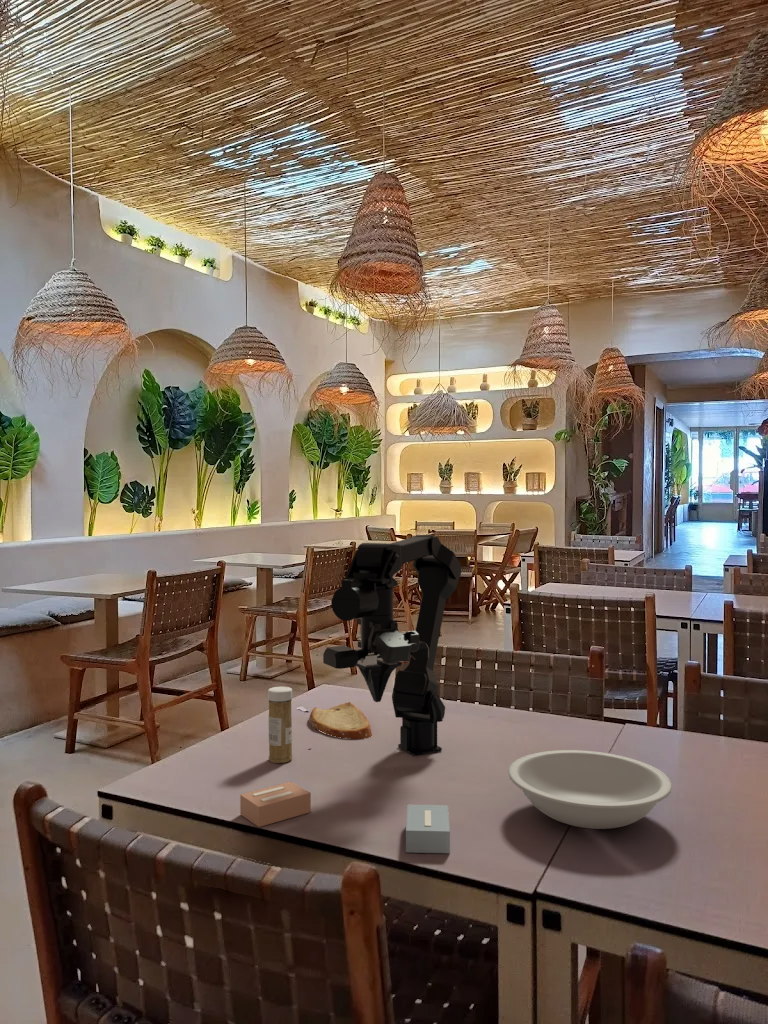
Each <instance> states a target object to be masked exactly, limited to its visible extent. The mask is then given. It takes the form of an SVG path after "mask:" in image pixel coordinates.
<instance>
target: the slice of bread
mask: <svg viewBox="0 0 768 1024" xmlns="http://www.w3.org/2000/svg"><path fill="white" fill-rule="evenodd" d="M308 722H309V724H311V725H312V726H313V727H314V728H315V729H314V728H313V727H312V726H311V725H310V726H311V727H312V728H313V729H314V730H316V729H318V730H320V731H322V732H324V733H326V734H329V735H332V736H336V737H335V738H337V737H341V738H340V739H343V738H351V739H350V740H365V739H364V738H366V739H369V737H370V738H372V737H373V733H372V728H371V725H370V722H369V720H368V718H367V716H366V715H365V714H364V712H363V711H361V710H360V709H359V708H358V707H357V706H356V705H355V704H353V703H351V702H350V701H348V702H345V703H340V704H338V705H334V706H333V707H330V708H328V709H326V708H325V709H321V708H320V707H319V708H318V707H314V708H313V709H312V710H311V712H310V715H309V721H308ZM318 730H317V731H318ZM326 734H325V735H326ZM329 735H328V736H329ZM332 736H331V737H332ZM371 736H372V737H371Z"/></svg>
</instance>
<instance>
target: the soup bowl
mask: <svg viewBox="0 0 768 1024" xmlns="http://www.w3.org/2000/svg"><path fill="white" fill-rule="evenodd" d="M507 772H508V777H509V779H510V780H511V782H512V783H513V785H515V786H516V787H518V788H519V789H520V790H522V792H523V794H524V796H526V798H527V799H528V801H530V803H531V804H532V805H533V806H534V807H535V808H536V809H537V810H538V811H540V812H541V813H543V815H546V816H547V817H549V818H551V819H553V820H555V821H558V822H560V823H562V824H566V825H569V826H573V827H577V828H578V827H579V828H582V829H583V828H584V829H593V830H596V829H597V830H600V829H601V830H607V829H610V830H611V829H616V828H622V827H626V826H629V825H631V824H634V823H636V822H638V821H639V820H641V819H643V818H644V817H646V815H648V814H650V812H651V811H652V810H653V809H654V808H655V807H656V805H657V804H658V803H660V802H661V801H664V800H665V799H666V798H668V797H669V796H670V794H671V793H672V790H673V783H672V781H671V779H670V778H669V776H667V774H665V773H664V772H663V771H662V770H660V769H658V768H656V767H654V765H653V766H652V765H650V764H649V763H646V762H643V761H640V760H638V759H634V758H631V757H628V756H624V755H618V754H615V753H614V754H613V753H608V752H604V751H603V752H601V751H593V750H580V749H561V750H560V749H558V750H557V749H556V750H547V751H539V752H536V753H531V754H527V755H524V756H522V757H519V758H518V759H516V760H514V761H513V762H512V763H511V764H510V766H509V768H508V771H507Z"/></svg>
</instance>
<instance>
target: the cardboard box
mask: <svg viewBox="0 0 768 1024" xmlns="http://www.w3.org/2000/svg"><path fill="white" fill-rule="evenodd" d="M311 795H312V794H311V792H310V791H309V790H307V789H304V788H303V787H302V786H299V785H298V784H296V783H294V782H292V781H288V782H284V783H280V784H276V785H272V786H269V787H264V788H261V789H257V790H253V791H249V792H245V793H242V794H240V795H239V797H240V798H239V802H240V803H239V804H240V810H239V811H240V815H241V816H243V817H244V818H245V819H246V820H248V821H250V822H251V823H252V824H254V826H257V827H258V828H260V827H264V826H265V827H266V826H268V825H271V824H274V823H277V822H281V821H284V820H285V821H286V820H288V819H291V818H295V817H298V816H302V815H305V814H309V813H311V810H312V808H311V807H312V806H311V804H312V803H311V801H312V800H311V798H312V797H311Z"/></svg>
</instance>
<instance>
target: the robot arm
mask: <svg viewBox="0 0 768 1024" xmlns="http://www.w3.org/2000/svg"><path fill="white" fill-rule="evenodd" d="M411 562H413V563H412V566H413V568H414V569H415V572H416V573H417V584H418V586H419V589H420V591H421V594H422V596H421V600H420V606H419V611H418V616H417V621H416V625H415V630H409V631H407V630H406V632H400V631H399V628H398V627H399V625H398V620H395V619H394V587H398V585H399V582H398V581H397V579H395V578H394V576H395V574H397V573H398V572H400V571H401V570H402V566H403V565H404V564H406V563H411ZM461 575H462V565H461V563H460V561H459V559H458V558H457V556H456V554H455V552H454V551H452V550H451V549H450V548H448V547H447V546H446V545H444V544H443V543H442V542H441V541H440V538H439V537H438V536H435V535H433V534H431V535H430V534H429V535H427V534H416V535H413V536H412V537H409V538H405V539H402V540H397V541H394V542H390V543H383V542H382V543H381V542H380V543H377V542H376V543H375V542H362V543H360V544H358V547H357V550H355V552H354V555H353V558H352V560H351V563H350V565H349V568H348V569H347V573H346V575H345V578H344V579H342V580H341V585H340V586H341V587H338V588H337V589H336V590H335V591H334V593H333V596H332V598H331V599H330V601H331V604H330V605H331V609H332V612H333V613H334V615H335V616H336V617H337V618H338V619H339V620H341V621H344V622H349V621H354V620H357V625H360V640H358V641H357V648H360V649H355V648H351V647H349V646H346V645H338V646H331V647H330V646H328V647H326V649H325V650H324V652H323V655H322V657H323V659H322V660H323V662H322V663H323V664H324V665H327V666H329V667H332V668H334V669H337V670H339V669H340V670H341V669H350V668H351V669H352V668H355V667H357V668H358V669H359V671H360V673H361V675H362V677H363V679H364V680H365V683H366V686H367V688H368V690H369V693H370V695H371V697H372V701H374V703H381V701H382V699H383V695H384V693H385V689H386V687H387V684H388V681H389V678H390V677H391V674H392V672H393V671H394V670H396V668H398V667H401V666H402V664H403V663H402V662H404V663H406V662H408V665H407V666H406V667H405V668H404V669H403V670H399V669H398V671H397V673H396V675H395V683H394V685H393V688H392V693H391V700H392V701H391V702H392V707H393V710H394V715H395V718H401V720H402V722H401V726H400V727H399V728H400V729H399V730H400V731H399V732H400V733H399V735H400V740H399V741H400V742H399V744H397V747H398V748H399V749H401V750H403V751H405V752H407V753H409V754H411V755H412V756H414V757H415V756H421V755H427V754H431V753H436V752H441V751H443V748H442V747H441V746H439V745H438V723H440V722H443V721H444V720H443V719H444V718H445V714H446V706H445V704H444V703H443V700H442V699H441V698H440V696H439V694H438V692H439V691H438V690H439V684H438V681H437V678H436V676H435V673H434V666H435V661H436V660H435V659H436V656H437V650H438V644H439V639H440V633H441V628H442V623H443V618H444V617H443V616H444V613H445V607H446V603H447V602H446V601H447V600H449V598H450V597H451V596H452V594H453V593H454V592H455V591H456V590H457V588H458V587H457V586H458V583H459V579H460V578H461Z"/></svg>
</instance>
